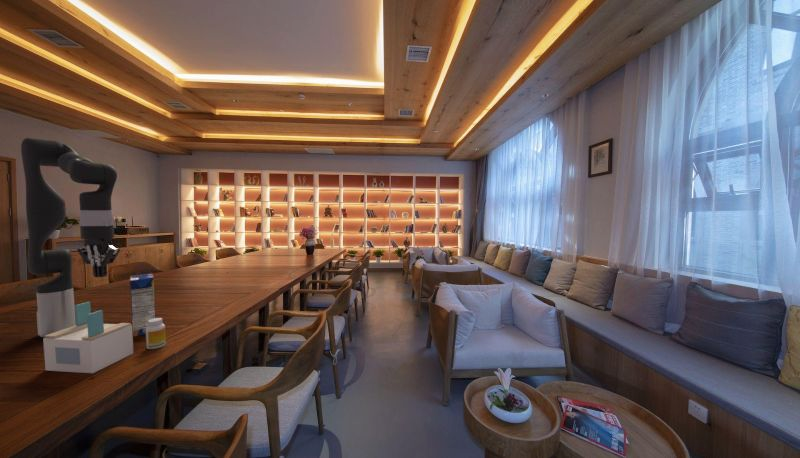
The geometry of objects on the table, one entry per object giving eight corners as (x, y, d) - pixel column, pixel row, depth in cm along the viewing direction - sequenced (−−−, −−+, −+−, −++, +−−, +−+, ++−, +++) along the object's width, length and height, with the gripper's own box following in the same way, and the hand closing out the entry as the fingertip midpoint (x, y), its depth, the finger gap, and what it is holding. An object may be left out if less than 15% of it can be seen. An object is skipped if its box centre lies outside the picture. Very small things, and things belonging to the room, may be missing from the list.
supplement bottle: (169, 343, 104) (168, 318, 104) (152, 350, 99) (151, 323, 99) (159, 341, 106) (158, 316, 106) (142, 348, 101) (141, 321, 100)
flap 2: (81, 339, 85) (80, 314, 85) (121, 324, 97) (119, 302, 96) (92, 339, 85) (90, 315, 85) (130, 324, 96) (129, 302, 96)
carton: (45, 370, 87) (42, 338, 86) (91, 351, 99) (89, 323, 98) (92, 373, 85) (90, 341, 85) (133, 353, 97) (131, 324, 97)
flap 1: (97, 323, 97) (95, 301, 97) (55, 338, 86) (53, 313, 86) (88, 323, 98) (86, 301, 97) (44, 337, 87) (42, 313, 86)
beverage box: (133, 336, 110) (129, 280, 109) (133, 327, 118) (130, 275, 117) (156, 331, 115) (153, 277, 113) (155, 323, 123) (152, 273, 121)
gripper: (64, 224, 89) (68, 279, 91) (102, 225, 88) (106, 280, 89) (91, 223, 97) (95, 273, 98) (127, 224, 96) (130, 274, 97)
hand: (100, 276), depth 94 cm, fingers closed
